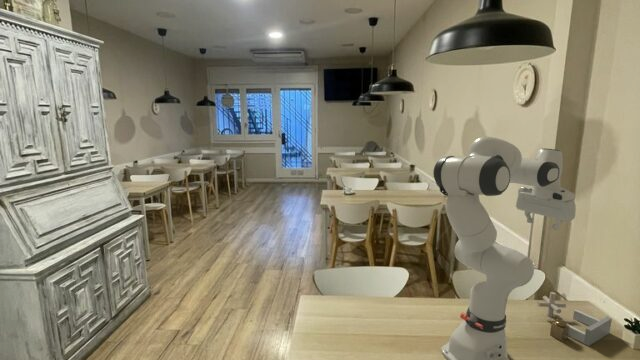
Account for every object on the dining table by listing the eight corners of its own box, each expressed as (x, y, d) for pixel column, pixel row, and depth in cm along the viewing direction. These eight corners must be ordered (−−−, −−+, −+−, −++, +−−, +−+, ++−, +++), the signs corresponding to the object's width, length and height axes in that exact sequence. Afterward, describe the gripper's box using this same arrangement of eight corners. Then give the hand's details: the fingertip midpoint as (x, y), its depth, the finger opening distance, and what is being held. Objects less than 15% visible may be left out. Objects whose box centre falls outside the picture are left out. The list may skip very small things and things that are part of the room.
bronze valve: (561, 341, 124) (563, 327, 123) (549, 335, 127) (551, 321, 126) (567, 338, 126) (569, 323, 125) (556, 332, 129) (557, 318, 128)
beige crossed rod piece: (556, 309, 144) (558, 287, 142) (570, 323, 134) (574, 300, 132) (530, 308, 145) (533, 286, 143) (543, 322, 135) (546, 299, 133)
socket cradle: (588, 346, 121) (591, 330, 120) (554, 328, 131) (555, 314, 130) (609, 333, 128) (611, 318, 127) (575, 317, 138) (577, 303, 137)
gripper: (514, 187, 137) (511, 220, 140) (570, 197, 119) (565, 235, 122) (523, 185, 140) (520, 217, 143) (580, 195, 122) (575, 232, 125)
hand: (542, 225), depth 132 cm, fingers open, 8 cm apart
